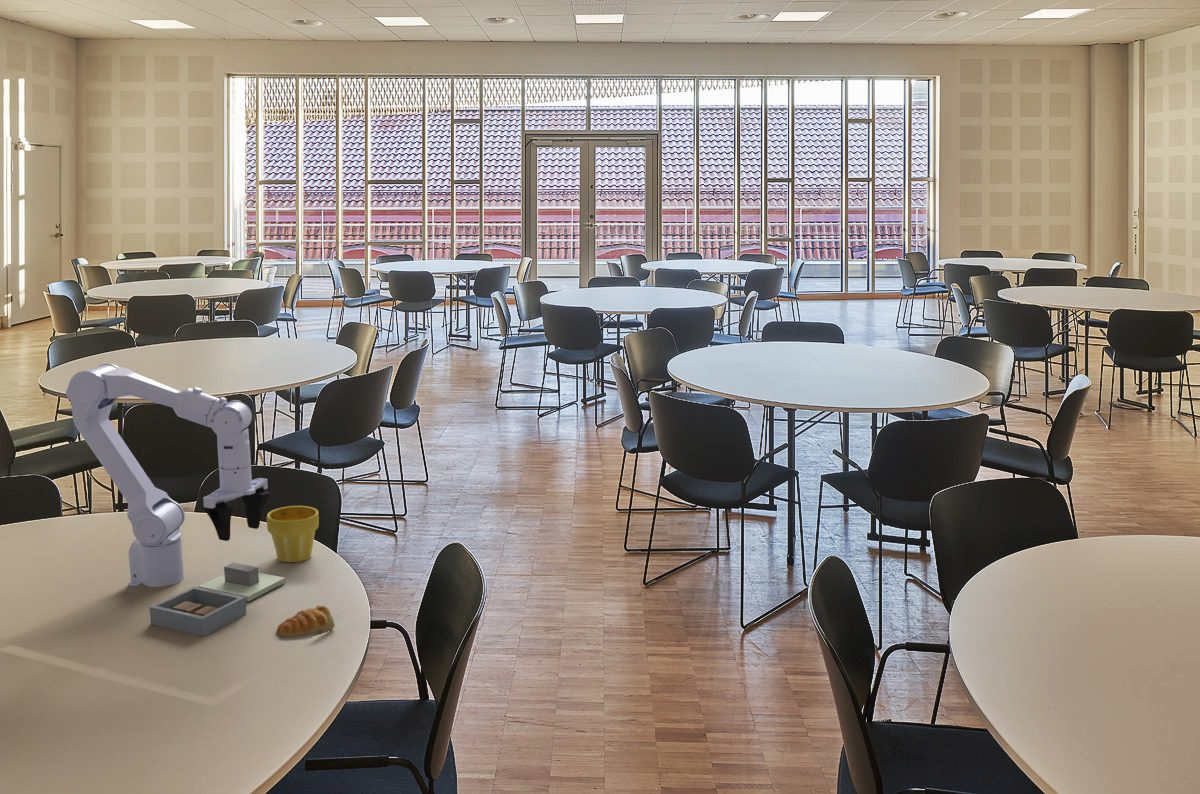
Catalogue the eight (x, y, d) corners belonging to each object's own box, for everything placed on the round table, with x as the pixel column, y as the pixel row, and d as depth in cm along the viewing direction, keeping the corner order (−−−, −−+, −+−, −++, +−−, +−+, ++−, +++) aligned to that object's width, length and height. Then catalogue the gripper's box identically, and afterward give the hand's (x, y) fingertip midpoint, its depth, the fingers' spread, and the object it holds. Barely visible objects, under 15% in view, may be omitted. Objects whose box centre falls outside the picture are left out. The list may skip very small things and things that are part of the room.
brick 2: (195, 622, 167) (194, 612, 166) (208, 616, 170) (207, 605, 169) (212, 627, 165) (212, 616, 165) (225, 620, 168) (225, 609, 168)
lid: (198, 594, 180) (196, 571, 179) (237, 575, 189) (235, 553, 188) (248, 604, 176) (246, 581, 175) (285, 585, 185) (284, 562, 184)
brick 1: (172, 617, 169) (172, 607, 168) (186, 611, 172) (185, 600, 171) (190, 621, 167) (189, 611, 167) (203, 615, 170) (202, 604, 170)
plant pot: (329, 557, 200) (327, 513, 199) (283, 570, 193) (280, 524, 191) (306, 545, 208) (303, 502, 206) (260, 556, 201) (257, 512, 199)
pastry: (288, 647, 160) (286, 626, 160) (269, 634, 165) (268, 614, 164) (338, 630, 167) (337, 610, 166) (319, 619, 172) (317, 599, 171)
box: (151, 628, 166) (149, 606, 166) (195, 606, 175) (193, 586, 175) (204, 641, 162) (202, 618, 161) (246, 618, 171) (245, 597, 170)
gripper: (221, 477, 174) (226, 548, 176) (278, 459, 187) (281, 525, 189) (193, 473, 177) (198, 542, 179) (250, 455, 190) (254, 520, 192)
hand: (239, 533), depth 185 cm, fingers open, 7 cm apart
